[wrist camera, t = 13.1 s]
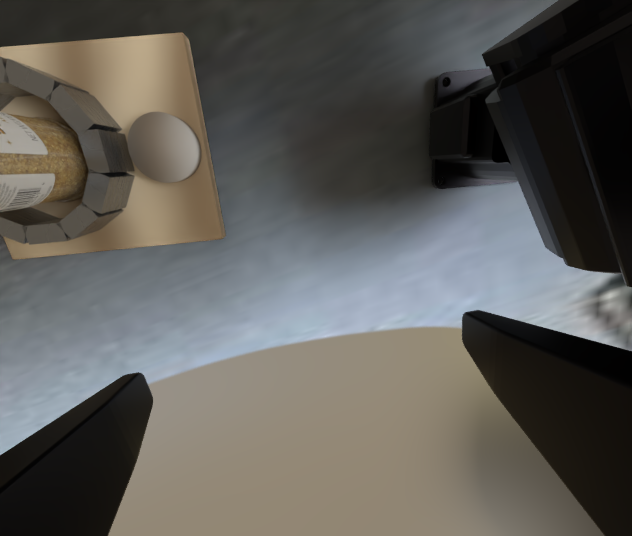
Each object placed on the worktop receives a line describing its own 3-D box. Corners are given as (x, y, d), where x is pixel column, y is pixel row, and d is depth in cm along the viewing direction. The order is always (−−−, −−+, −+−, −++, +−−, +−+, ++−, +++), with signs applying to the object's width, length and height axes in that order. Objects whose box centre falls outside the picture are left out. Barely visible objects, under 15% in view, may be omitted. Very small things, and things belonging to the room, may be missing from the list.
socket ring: (106, 67, 16) (74, 50, 14) (149, 226, 19) (128, 235, 17) (-59, 81, 16) (-121, 66, 14) (8, 239, 19) (-33, 250, 16)
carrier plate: (189, 39, 17) (175, 24, 15) (225, 235, 20) (218, 242, 18) (-55, 59, 16) (-100, 46, 15) (26, 255, 20) (-2, 264, 18)
